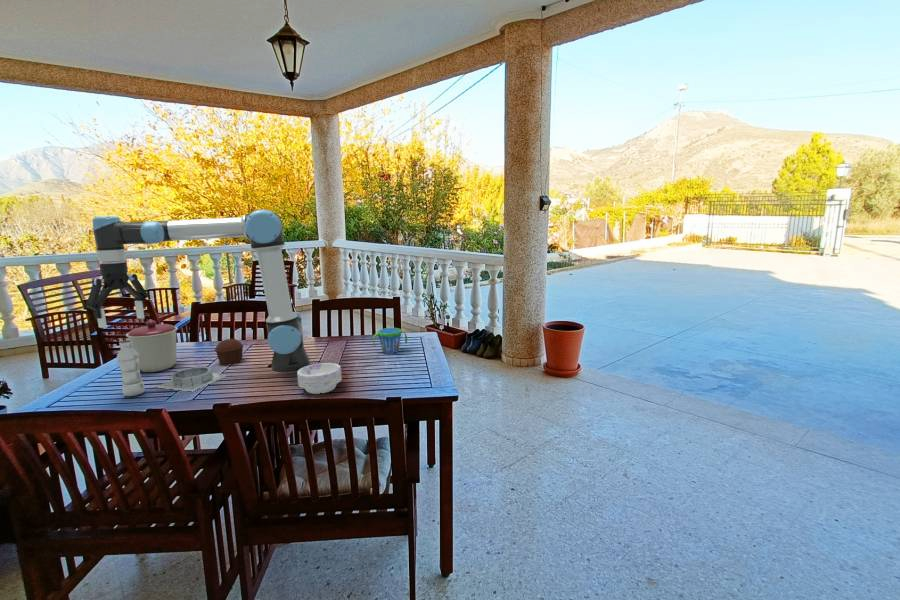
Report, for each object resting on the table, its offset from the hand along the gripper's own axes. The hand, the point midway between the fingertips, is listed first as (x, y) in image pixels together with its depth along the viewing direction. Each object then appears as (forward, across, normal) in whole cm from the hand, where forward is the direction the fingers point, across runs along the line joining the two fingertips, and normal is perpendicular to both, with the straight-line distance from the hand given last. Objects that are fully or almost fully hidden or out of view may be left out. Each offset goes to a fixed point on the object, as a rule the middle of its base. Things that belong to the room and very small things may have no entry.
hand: (122, 322), depth 155 cm
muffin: (+27, -39, +7) cm, 48 cm away
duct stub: (+27, -15, +11) cm, 33 cm away
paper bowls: (+27, -20, +64) cm, 72 cm away
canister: (+27, -25, -18) cm, 41 cm away
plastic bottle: (+27, 0, 0) cm, 27 cm away
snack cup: (+26, -67, +71) cm, 101 cm away
